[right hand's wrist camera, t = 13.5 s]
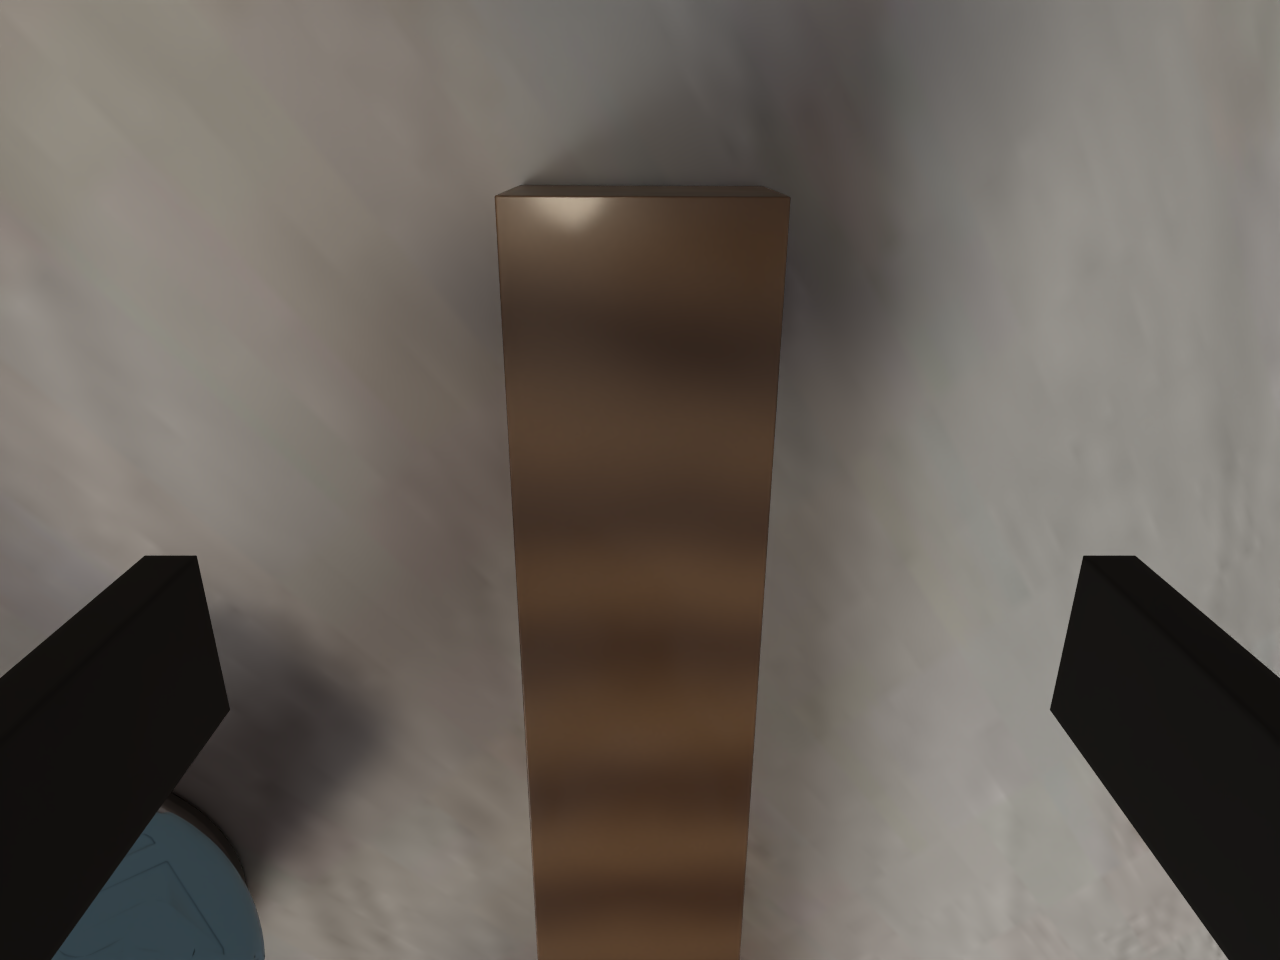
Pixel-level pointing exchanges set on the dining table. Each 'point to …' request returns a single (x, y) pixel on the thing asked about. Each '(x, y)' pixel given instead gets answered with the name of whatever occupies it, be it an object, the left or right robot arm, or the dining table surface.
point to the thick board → (640, 548)
